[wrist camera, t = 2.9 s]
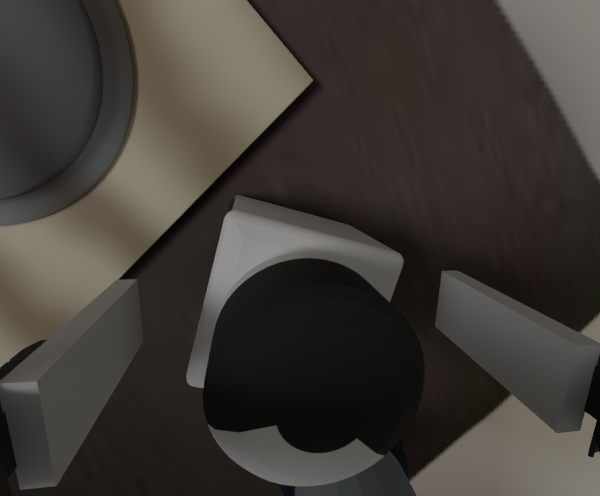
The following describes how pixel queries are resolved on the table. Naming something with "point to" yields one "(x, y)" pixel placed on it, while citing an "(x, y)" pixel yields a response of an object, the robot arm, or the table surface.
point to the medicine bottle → (304, 347)
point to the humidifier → (366, 480)
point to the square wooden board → (117, 137)
